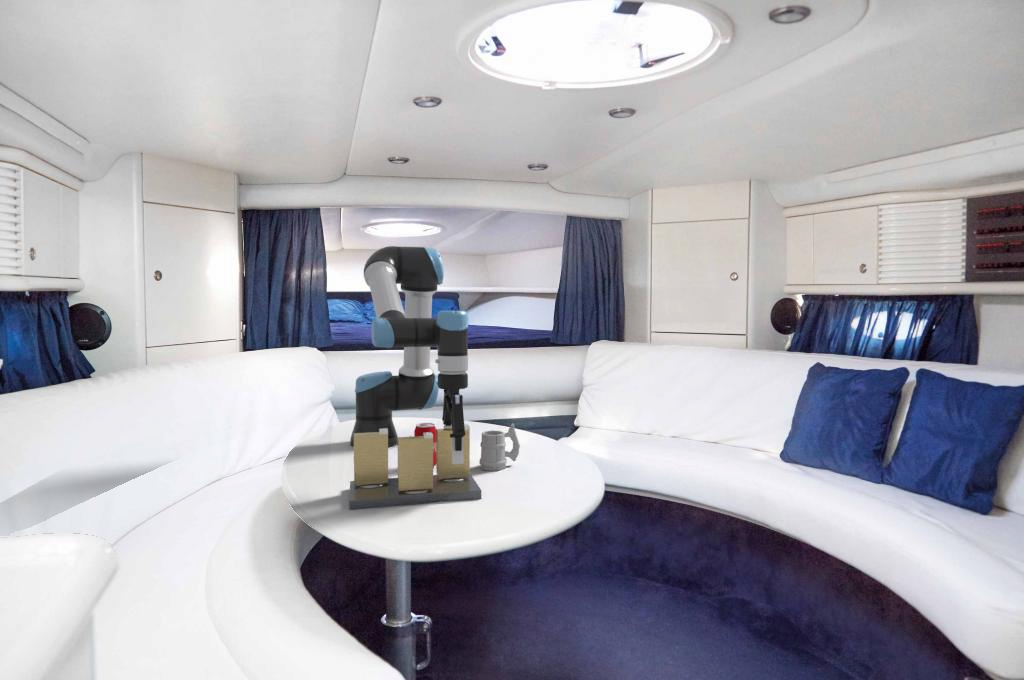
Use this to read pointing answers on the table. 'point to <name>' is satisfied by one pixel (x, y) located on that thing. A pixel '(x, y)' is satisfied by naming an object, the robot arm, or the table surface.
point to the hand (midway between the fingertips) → (453, 456)
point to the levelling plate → (412, 493)
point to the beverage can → (425, 428)
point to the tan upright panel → (445, 455)
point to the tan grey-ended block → (415, 462)
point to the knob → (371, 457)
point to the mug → (497, 449)
